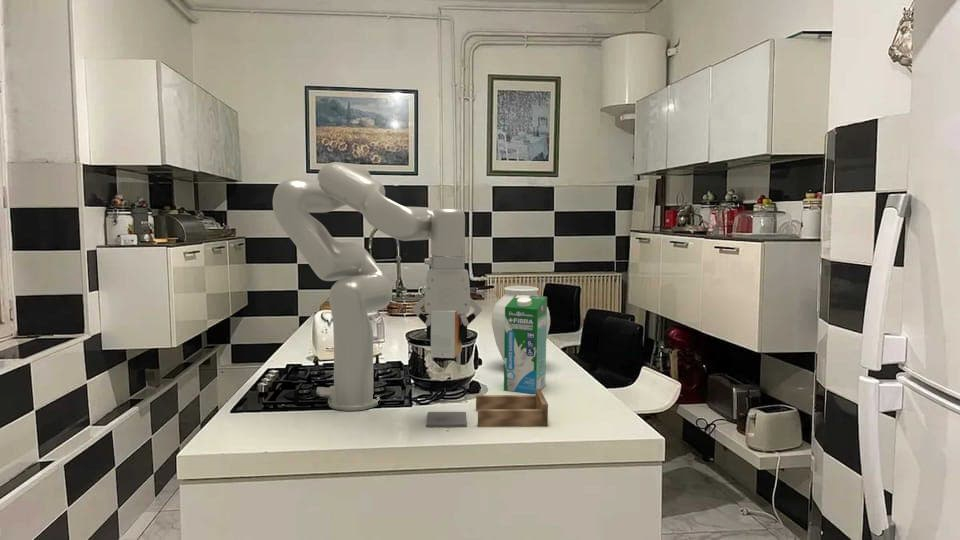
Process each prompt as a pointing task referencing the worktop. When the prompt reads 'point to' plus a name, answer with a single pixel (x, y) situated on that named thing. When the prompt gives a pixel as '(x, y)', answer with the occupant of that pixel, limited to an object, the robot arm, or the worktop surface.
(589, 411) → the worktop surface
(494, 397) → the holder
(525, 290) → the vase
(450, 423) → the pad
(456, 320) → the small box
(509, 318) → the milk carton
